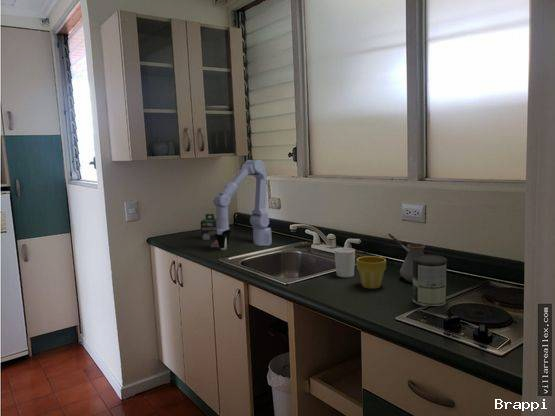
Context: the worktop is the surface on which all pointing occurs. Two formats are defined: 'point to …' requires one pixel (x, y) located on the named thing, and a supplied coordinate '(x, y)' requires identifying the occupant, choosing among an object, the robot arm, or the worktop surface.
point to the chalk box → (209, 228)
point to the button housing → (214, 245)
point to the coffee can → (429, 280)
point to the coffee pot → (409, 258)
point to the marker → (225, 245)
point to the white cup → (345, 262)
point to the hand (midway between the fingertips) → (223, 246)
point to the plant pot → (371, 270)
